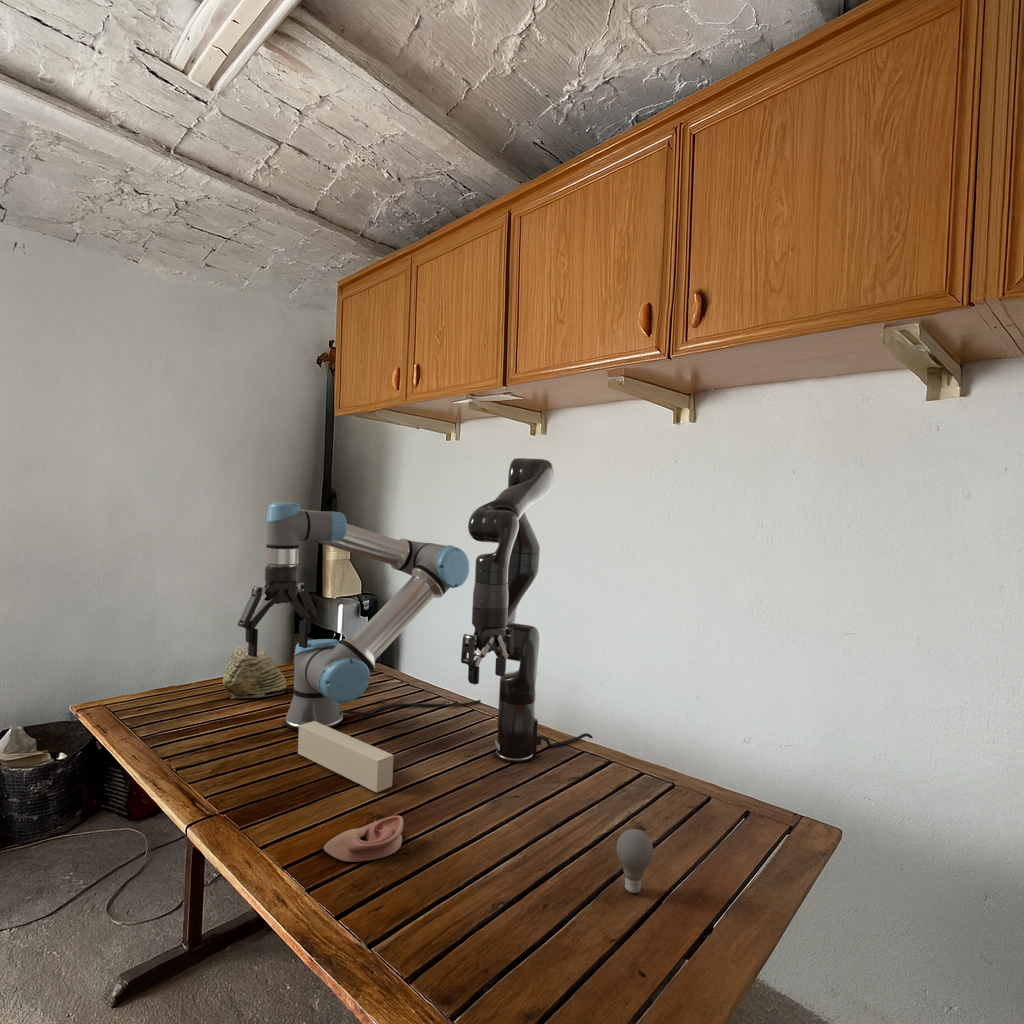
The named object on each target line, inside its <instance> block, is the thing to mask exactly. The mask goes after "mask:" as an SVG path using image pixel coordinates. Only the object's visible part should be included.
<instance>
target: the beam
mask: <svg viewBox="0 0 1024 1024" xmlns="http://www.w3.org/2000/svg"><path fill="white" fill-rule="evenodd" d="M297 737H298V740H297V741H298V742H297V754H298V755H300V756H302V757H304V758H306V759H308V760H310V761H312V762H314V763H316V764H318V765H321V766H322V767H324V768H326V769H328V770H330V771H332V772H334V773H336V774H338V775H339V776H341V777H344V778H346V779H348V780H350V781H352V782H354V783H356V784H358V785H360V786H362V787H364V788H366V789H368V790H370V791H372V792H374V793H376V794H377V793H379V792H382V791H384V790H386V789H387V790H388V789H389V788H391V787H393V779H394V777H393V775H394V754H392V753H390V752H387V751H385V750H383V749H380V748H378V747H376V746H374V745H372V744H369V743H367V742H365V741H362V740H361V739H357V738H355V737H352V736H350V735H348V734H346V733H343V732H341V731H339V730H337V729H335V728H333V729H332V728H329V727H327V726H325V725H322V724H320V723H318V722H315V721H313V722H309V723H306V724H302V725H299V731H298V736H297Z"/></svg>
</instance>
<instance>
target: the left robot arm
mask: <svg viewBox="0 0 1024 1024" xmlns="http://www.w3.org/2000/svg"><path fill="white" fill-rule="evenodd" d="M265 522H266V544H265V564H266V566H265V568H264V581H265V584H264V586H263V587H261V586H257V585H256V586H255V585H254V586H252V588H251V593H250V597H249V599H248V601H247V603H246V605H245V607H244V610H243V611H242V613H241V615H240V618H239V620H238V622H237V626H238V627H239V628H240V627H241V628H243V629H245V642H246V643H247V644H248V645H247V648H248V655H249V656H252V657H257V648H258V642H259V641H258V639H259V638H258V637H259V628H256V627H257V626H258V624H259V623H260V621H262V620H263V618H264V616H265V615H266V614H267V612H268V611H269V610H270V608H272V607H273V606H274V605H279V604H288V603H289V604H290V605H291V606H292V608H293V609H294V611H295V612H296V613H297V614H298V615H299V617H300V618H301V619H302V620H299V626H298V627H299V628H298V642H297V644H296V645H295V650H294V655H293V656H294V672H293V695H292V696H293V697H292V699H291V702H290V704H289V706H288V711H287V713H286V715H285V726H286V728H287V729H289V730H291V731H294V732H295V731H296V732H299V725H302V724H306V723H309V722H313V721H315V722H318V723H320V724H322V725H325V726H327V727H329V728H332V729H335V728H337V727H339V726H340V725H342V723H343V722H344V714H349V715H350V714H351V715H352V714H353V715H360V716H368V715H372V714H375V713H377V712H378V711H381V710H383V709H386V708H392V707H394V708H395V707H413V706H414V707H461V706H462V707H464V706H469V705H474V704H479V703H481V699H477V700H472V701H468V702H461V703H460V702H459V703H423V702H422V703H421V702H420V703H419V702H418V703H413V702H411V703H392V704H391V703H390V704H385V705H382V706H380V707H377V708H375V709H373V710H371V711H365V712H362V711H355V710H343V709H342V706H341V703H342V704H344V703H350V702H353V701H355V700H357V699H359V698H360V697H361V696H362V695H363V694H364V693H365V691H366V690H367V688H368V687H369V684H370V678H371V674H372V672H373V671H374V670H375V669H376V661H377V660H378V658H379V657H380V656H381V654H382V653H384V652H385V650H386V649H387V648H388V647H389V646H390V645H391V644H392V643H393V642H394V641H395V640H396V638H398V637H399V636H400V635H401V633H402V632H403V631H405V629H406V628H407V627H408V626H409V625H410V624H411V622H413V621H414V619H415V618H416V617H418V615H419V614H420V613H421V612H422V611H423V610H424V608H426V606H428V604H429V603H430V602H431V601H432V600H433V599H440V598H442V597H443V596H444V595H445V594H446V593H447V592H448V591H449V590H450V589H455V588H456V589H457V588H459V587H461V586H463V585H464V584H465V582H466V581H467V580H468V577H469V575H470V560H469V557H468V556H467V554H466V552H465V551H464V550H463V549H461V548H459V547H457V546H454V545H449V544H447V545H444V544H439V543H432V542H423V541H422V542H421V541H414V540H409V539H406V538H400V539H396V538H393V537H389V536H386V535H383V534H380V533H377V532H374V531H371V530H368V529H366V528H362V527H359V526H356V525H353V524H350V523H348V522H347V518H346V515H345V514H344V513H342V512H340V511H332V510H331V511H323V510H322V511H321V510H309V509H304V508H301V505H300V504H299V502H281V501H279V502H277V501H276V502H275V501H274V502H271V503H270V504H269V505H268V507H267V514H266V521H265ZM306 541H307V542H309V541H310V542H316V543H319V544H322V545H325V546H329V547H332V548H335V549H339V550H342V551H345V552H348V553H352V554H354V555H358V556H360V557H361V556H362V557H365V558H368V559H372V560H375V561H378V562H382V563H385V564H388V565H390V567H391V568H392V569H393V570H396V571H400V572H401V573H405V574H406V575H409V576H411V577H410V578H409V579H408V581H406V582H405V584H403V585H402V587H401V588H400V589H399V590H398V591H397V592H395V593H394V595H392V597H390V599H389V600H388V601H387V602H386V603H385V604H384V605H383V606H382V607H381V608H380V609H379V610H378V611H377V613H375V614H374V615H373V616H372V617H371V618H370V619H369V620H368V622H366V623H365V625H364V626H363V627H362V628H361V629H360V630H359V631H358V632H357V633H356V634H355V635H354V636H352V638H343V639H341V641H339V640H338V639H335V638H323V639H322V638H319V639H309V634H311V628H312V627H311V625H312V624H311V623H313V622H314V619H317V618H318V617H319V614H318V612H317V609H316V607H315V604H314V602H313V599H312V597H311V594H310V591H309V584H308V583H306V582H298V583H297V581H298V573H299V567H298V566H297V565H298V564H299V547H300V542H306ZM296 592H298V594H299V596H300V598H301V601H302V603H303V604H302V603H301V602H300V601H299V598H298V597H297V596H296ZM264 595H265V596H264ZM263 596H264V598H263V599H262V597H263ZM261 599H262V600H261ZM260 601H261V603H260ZM259 604H260V605H259ZM303 605H304V606H303Z"/></svg>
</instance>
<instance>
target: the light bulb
mask: <svg viewBox="0 0 1024 1024" xmlns="http://www.w3.org/2000/svg"><path fill="white" fill-rule="evenodd" d="M615 849H616V854H617V857H618V859H619V861H620V863H621V865H622V867H623V873H624V874H623V875H624V876H625V878H624V888H625V890H627V891H628V892H630V893H634V894H635V893H639V892H640V891H641V889H642V887H641V886H642V879H643V877H644V875H645V871H646V868H647V867H648V866H649V864H650V863H651V861H652V859H653V855H654V847H653V843H652V841H651V838H649V836H648V835H647V834H646V833H645V832H643V831H642V830H641V829H636V828H629V829H627V830H625V831H623V832H622V833H621V834H620V835H619V837H618V839H617V841H616V847H615Z"/></svg>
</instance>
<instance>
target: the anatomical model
mask: <svg viewBox="0 0 1024 1024" xmlns="http://www.w3.org/2000/svg"><path fill="white" fill-rule="evenodd" d="M403 829H404V818H403V816H401V815H392V816H391V815H390V816H388V817H384V818H381V819H379V820H376V821H373V822H371V823H368V824H367V825H364V826H362V827H359V828H352V829H348V830H345V831H343V832H341V833H339V834H337V835H335V836H334V837H332V838H330V840H328V841H327V842H326V843H325V844H324V846H323V850H324V852H326V853H327V854H328V855H330V856H331V857H333V858H335V859H337V860H339V861H341V862H346V863H356V862H366V861H373V860H374V861H375V860H377V859H378V860H379V859H382V858H385V857H387V856H390V855H392V854H395V853H396V852H398V850H399V849H401V846H402V843H403V836H402V833H403Z"/></svg>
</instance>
